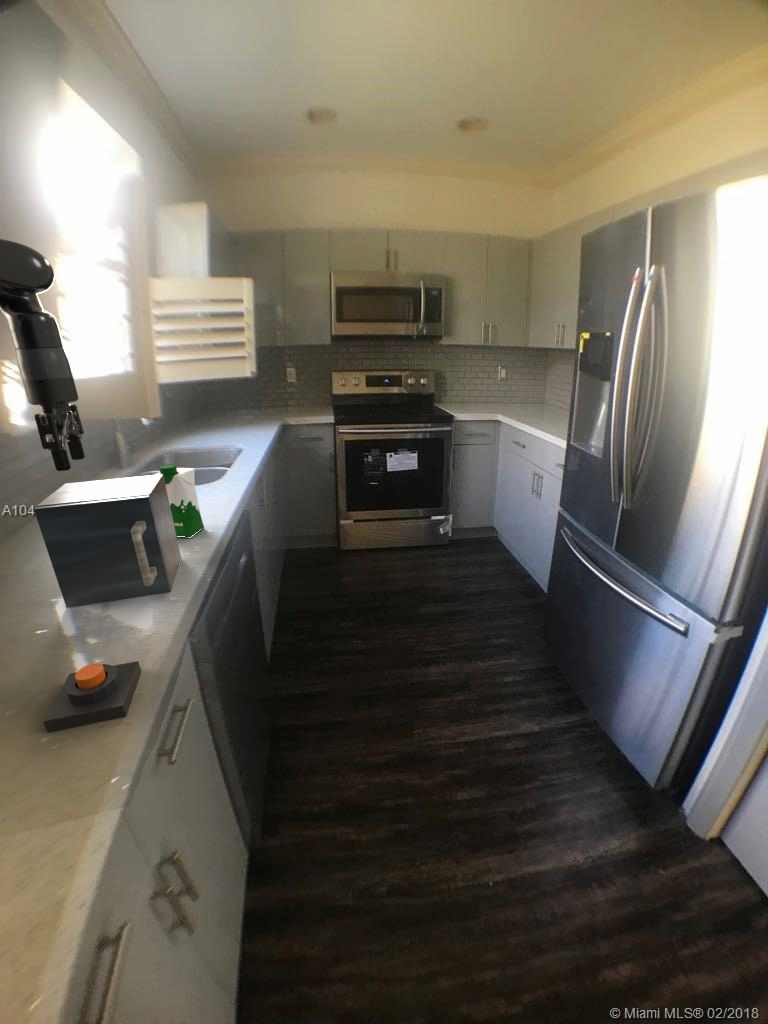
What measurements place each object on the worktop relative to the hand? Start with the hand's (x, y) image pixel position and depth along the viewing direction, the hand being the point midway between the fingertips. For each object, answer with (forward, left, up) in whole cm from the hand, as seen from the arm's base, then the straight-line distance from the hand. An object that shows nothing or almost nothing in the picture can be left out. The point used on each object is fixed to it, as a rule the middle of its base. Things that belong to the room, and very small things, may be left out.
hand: (71, 464), depth 86 cm
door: (+2, -4, -29) cm, 29 cm away
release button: (+7, -32, -26) cm, 42 cm away
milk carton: (+11, +32, -29) cm, 45 cm away
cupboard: (+2, +7, -29) cm, 30 cm away
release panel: (+7, -32, -29) cm, 44 cm away
